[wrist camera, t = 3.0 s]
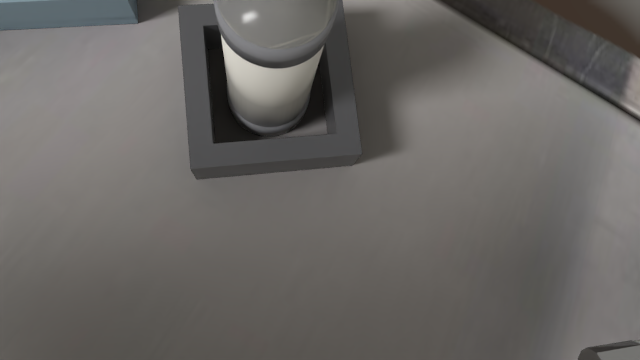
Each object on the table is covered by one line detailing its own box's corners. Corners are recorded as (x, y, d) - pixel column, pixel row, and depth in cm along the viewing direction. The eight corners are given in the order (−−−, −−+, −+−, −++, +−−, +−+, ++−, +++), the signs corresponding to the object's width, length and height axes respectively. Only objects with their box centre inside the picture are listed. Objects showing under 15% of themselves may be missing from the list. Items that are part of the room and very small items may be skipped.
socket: (196, 179, 30) (190, 169, 27) (184, 30, 32) (178, 5, 29) (351, 165, 32) (362, 154, 29) (334, 22, 33) (342, -3, 30)
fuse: (231, 139, 31) (218, 55, 19) (224, 62, 32) (207, -64, 20) (312, 133, 32) (346, 48, 20) (303, 58, 32) (331, -67, 21)
